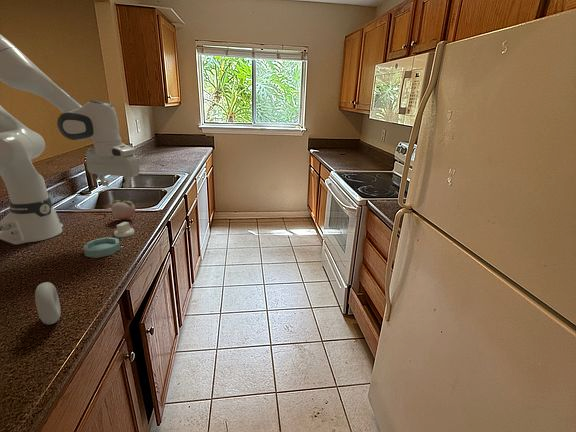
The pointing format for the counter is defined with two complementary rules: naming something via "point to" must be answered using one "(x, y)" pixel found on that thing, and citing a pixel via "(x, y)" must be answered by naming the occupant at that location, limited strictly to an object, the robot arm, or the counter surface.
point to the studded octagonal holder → (101, 247)
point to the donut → (47, 303)
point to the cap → (123, 230)
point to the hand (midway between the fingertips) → (116, 186)
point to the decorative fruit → (123, 209)
